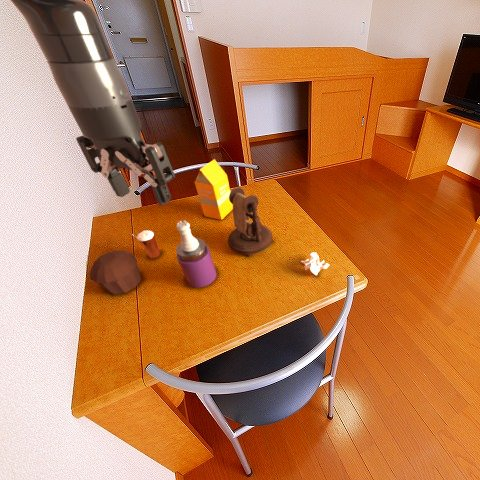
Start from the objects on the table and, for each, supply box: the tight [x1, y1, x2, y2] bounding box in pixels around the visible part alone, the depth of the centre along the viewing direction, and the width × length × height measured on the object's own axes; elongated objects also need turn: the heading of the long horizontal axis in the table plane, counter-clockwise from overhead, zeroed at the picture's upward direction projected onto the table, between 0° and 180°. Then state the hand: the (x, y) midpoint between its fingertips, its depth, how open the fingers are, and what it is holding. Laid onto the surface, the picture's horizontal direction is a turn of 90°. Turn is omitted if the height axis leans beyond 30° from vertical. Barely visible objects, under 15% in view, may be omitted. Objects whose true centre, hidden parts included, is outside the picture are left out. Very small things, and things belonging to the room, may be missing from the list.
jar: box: [176, 244, 218, 289], centre depth 79 cm, size 8×8×12 cm
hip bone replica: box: [300, 251, 330, 276], centre depth 85 cm, size 8×4×7 cm
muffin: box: [88, 250, 142, 296], centre depth 76 cm, size 12×11×10 cm
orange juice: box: [194, 158, 233, 221], centre depth 101 cm, size 8×9×20 cm
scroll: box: [227, 186, 273, 257], centre depth 88 cm, size 15×15×20 cm
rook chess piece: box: [176, 220, 199, 252], centre depth 72 cm, size 4×4×8 cm
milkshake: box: [130, 230, 161, 259], centre depth 85 cm, size 4×5×10 cm
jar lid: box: [175, 237, 207, 261], centre depth 75 cm, size 8×8×2 cm
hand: (144, 198), depth 48 cm, fingers open, 8 cm apart
